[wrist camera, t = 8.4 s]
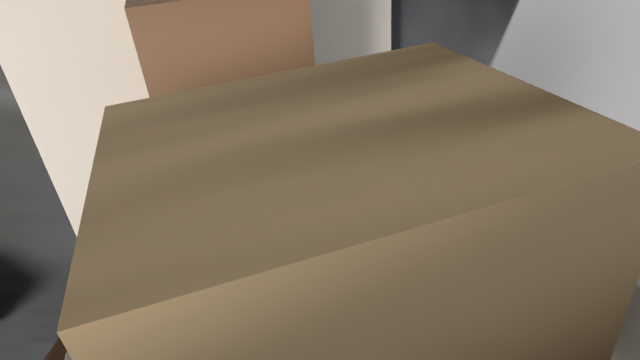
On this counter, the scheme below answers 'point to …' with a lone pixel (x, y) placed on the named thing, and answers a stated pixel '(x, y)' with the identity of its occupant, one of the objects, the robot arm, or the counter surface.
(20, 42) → the baseplate
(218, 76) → the walnut base brick
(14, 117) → the counter surface
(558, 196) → the oak brick
